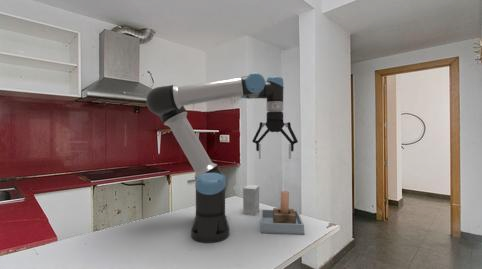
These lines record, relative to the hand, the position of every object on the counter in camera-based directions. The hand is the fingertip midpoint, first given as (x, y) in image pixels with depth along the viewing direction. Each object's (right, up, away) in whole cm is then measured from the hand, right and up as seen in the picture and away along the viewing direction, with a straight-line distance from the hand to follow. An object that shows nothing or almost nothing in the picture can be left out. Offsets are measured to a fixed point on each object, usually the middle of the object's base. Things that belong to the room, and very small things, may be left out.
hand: (274, 158), depth 108 cm
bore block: (+4, -29, -4) cm, 29 cm away
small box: (-10, -29, +13) cm, 33 cm away
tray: (+2, -29, -4) cm, 29 cm away
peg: (+4, -28, -4) cm, 29 cm away
